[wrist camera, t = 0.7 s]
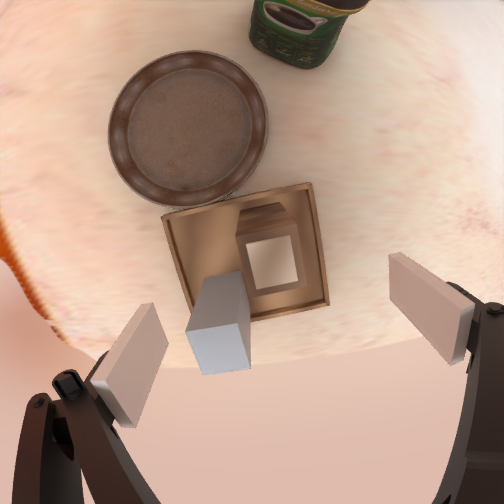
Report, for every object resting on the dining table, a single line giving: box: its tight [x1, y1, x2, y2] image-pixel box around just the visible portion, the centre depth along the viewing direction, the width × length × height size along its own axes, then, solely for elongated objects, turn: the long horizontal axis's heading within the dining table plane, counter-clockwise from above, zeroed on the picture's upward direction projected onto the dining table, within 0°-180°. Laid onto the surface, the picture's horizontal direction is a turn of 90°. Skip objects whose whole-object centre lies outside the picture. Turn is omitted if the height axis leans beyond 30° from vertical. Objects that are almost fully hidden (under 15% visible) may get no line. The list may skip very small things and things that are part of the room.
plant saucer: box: [108, 50, 268, 208], centre depth 29 cm, size 18×18×3 cm
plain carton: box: [185, 270, 251, 375], centre depth 30 cm, size 4×5×12 cm
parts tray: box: [161, 182, 330, 322], centre depth 34 cm, size 17×15×2 cm
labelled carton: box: [235, 202, 307, 298], centre depth 27 cm, size 4×5×12 cm
